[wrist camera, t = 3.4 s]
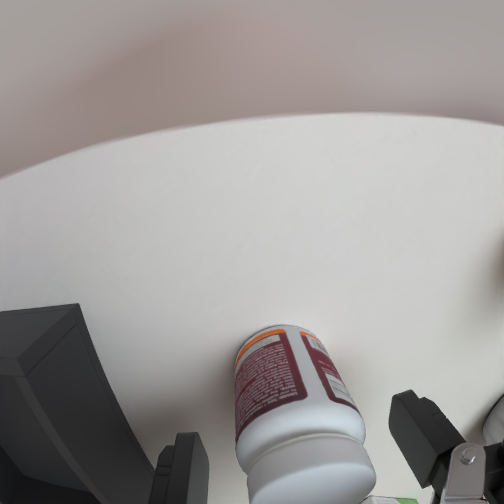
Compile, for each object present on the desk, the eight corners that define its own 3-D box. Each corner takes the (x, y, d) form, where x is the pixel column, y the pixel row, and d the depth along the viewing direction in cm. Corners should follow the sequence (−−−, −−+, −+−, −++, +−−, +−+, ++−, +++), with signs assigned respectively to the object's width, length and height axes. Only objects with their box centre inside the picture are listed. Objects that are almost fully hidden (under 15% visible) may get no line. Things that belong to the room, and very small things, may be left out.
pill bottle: (231, 396, 15) (232, 531, 7) (238, 319, 14) (242, 460, 6) (316, 398, 16) (359, 519, 7) (334, 324, 15) (412, 444, 6)
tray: (-64, 316, 13) (-107, 344, 8) (78, 302, 14) (16, 358, 8) (26, 473, 17) (5, 510, 12) (173, 498, 18) (166, 555, 12)
